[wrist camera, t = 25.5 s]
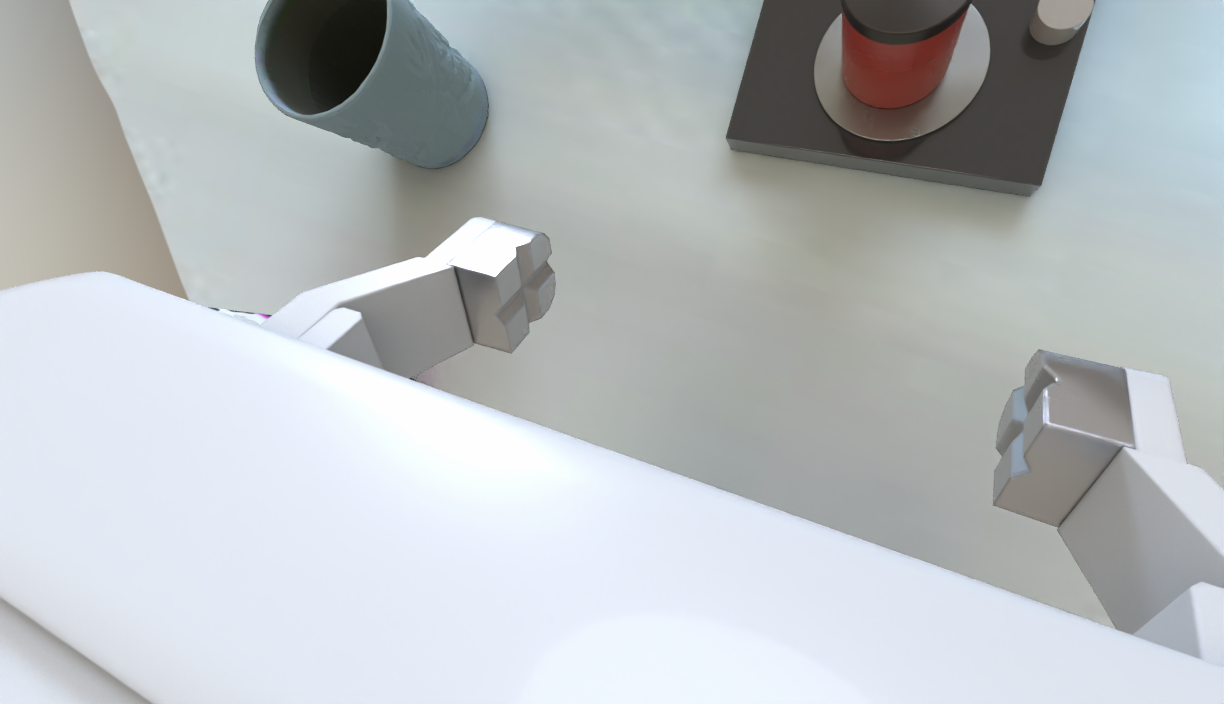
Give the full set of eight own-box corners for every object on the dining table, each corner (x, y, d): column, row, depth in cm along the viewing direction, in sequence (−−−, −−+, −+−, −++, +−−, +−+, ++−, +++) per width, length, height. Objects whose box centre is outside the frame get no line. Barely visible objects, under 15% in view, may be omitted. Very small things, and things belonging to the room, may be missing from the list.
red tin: (966, 12, 34) (1002, -95, 27) (936, 117, 35) (963, 40, 27) (855, 4, 36) (860, -98, 29) (827, 103, 37) (824, 28, 29)
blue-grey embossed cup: (496, 38, 47) (389, -75, 36) (500, 171, 46) (391, 98, 35) (383, 67, 50) (252, -27, 39) (385, 192, 50) (251, 132, 38)
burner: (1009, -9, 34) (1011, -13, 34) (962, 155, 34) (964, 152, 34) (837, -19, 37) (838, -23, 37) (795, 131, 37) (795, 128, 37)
